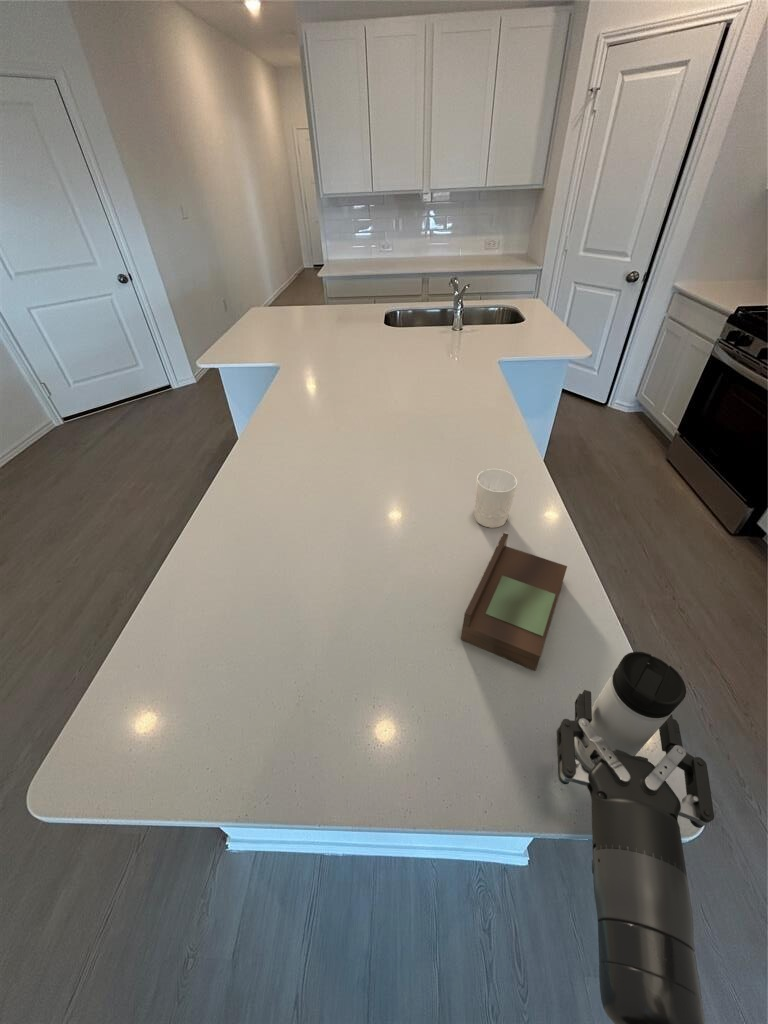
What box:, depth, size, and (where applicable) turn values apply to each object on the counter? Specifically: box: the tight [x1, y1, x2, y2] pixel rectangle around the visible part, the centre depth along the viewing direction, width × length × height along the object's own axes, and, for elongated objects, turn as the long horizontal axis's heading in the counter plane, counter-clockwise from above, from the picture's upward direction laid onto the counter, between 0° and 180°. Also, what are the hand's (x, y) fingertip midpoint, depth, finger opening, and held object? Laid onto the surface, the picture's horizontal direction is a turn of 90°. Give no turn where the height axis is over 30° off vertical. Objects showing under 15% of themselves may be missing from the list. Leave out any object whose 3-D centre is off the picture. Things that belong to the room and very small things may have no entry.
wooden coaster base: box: [460, 532, 568, 671], centre depth 73 cm, size 12×20×7 cm, turn 152°
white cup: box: [474, 468, 518, 529], centre depth 90 cm, size 8×8×10 cm
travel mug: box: [574, 651, 687, 773], centre depth 51 cm, size 6×7×20 cm
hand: (623, 704), depth 51 cm, fingers open, 8 cm apart
